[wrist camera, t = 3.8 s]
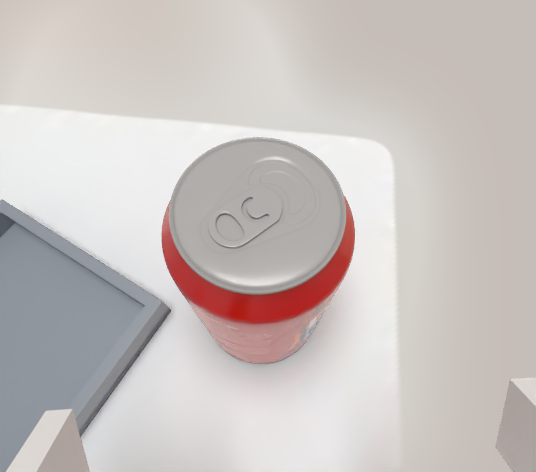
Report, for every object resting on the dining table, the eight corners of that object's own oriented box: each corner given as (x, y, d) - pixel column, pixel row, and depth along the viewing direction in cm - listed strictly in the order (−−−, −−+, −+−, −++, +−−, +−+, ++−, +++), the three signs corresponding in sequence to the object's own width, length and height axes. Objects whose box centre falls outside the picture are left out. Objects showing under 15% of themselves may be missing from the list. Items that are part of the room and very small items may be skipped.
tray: (-151, 386, 25) (-192, 384, 23) (21, 215, 30) (1, 199, 28) (11, 531, 22) (-18, 545, 19) (171, 310, 27) (162, 301, 25)
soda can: (186, 299, 28) (108, 189, 14) (270, 239, 30) (275, 92, 16) (250, 390, 25) (233, 365, 11) (338, 318, 27) (412, 223, 13)
